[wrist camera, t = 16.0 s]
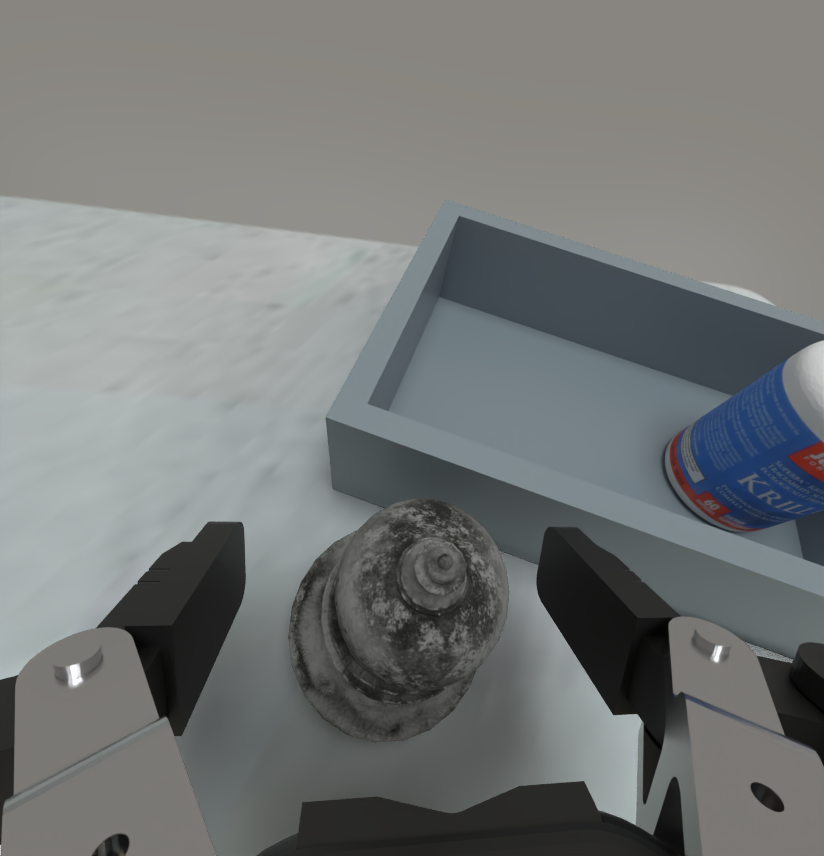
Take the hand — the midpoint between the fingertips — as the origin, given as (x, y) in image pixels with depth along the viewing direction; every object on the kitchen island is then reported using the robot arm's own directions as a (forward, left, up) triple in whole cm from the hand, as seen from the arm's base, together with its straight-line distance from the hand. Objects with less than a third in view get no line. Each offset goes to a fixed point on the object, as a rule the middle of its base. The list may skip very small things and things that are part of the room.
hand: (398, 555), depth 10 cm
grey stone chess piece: (0, -1, -6) cm, 7 cm away
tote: (+7, +10, -6) cm, 14 cm away
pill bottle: (+14, +10, -5) cm, 18 cm away
